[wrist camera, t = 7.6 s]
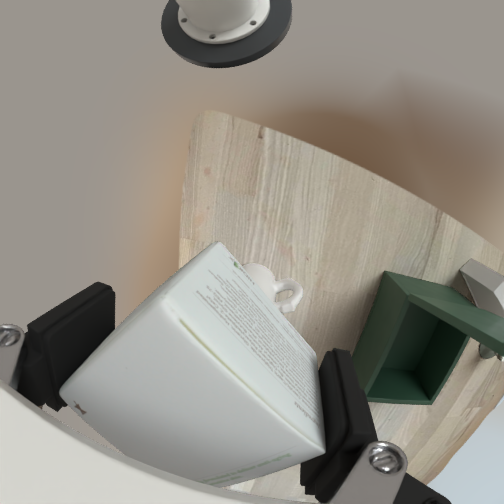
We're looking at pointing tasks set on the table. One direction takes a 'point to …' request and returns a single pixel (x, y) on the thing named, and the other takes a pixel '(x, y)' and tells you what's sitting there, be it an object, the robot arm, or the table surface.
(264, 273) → the mug
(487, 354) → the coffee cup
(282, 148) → the table surface
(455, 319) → the bin lid
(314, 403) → the small box
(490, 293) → the gravestone
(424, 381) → the bin
